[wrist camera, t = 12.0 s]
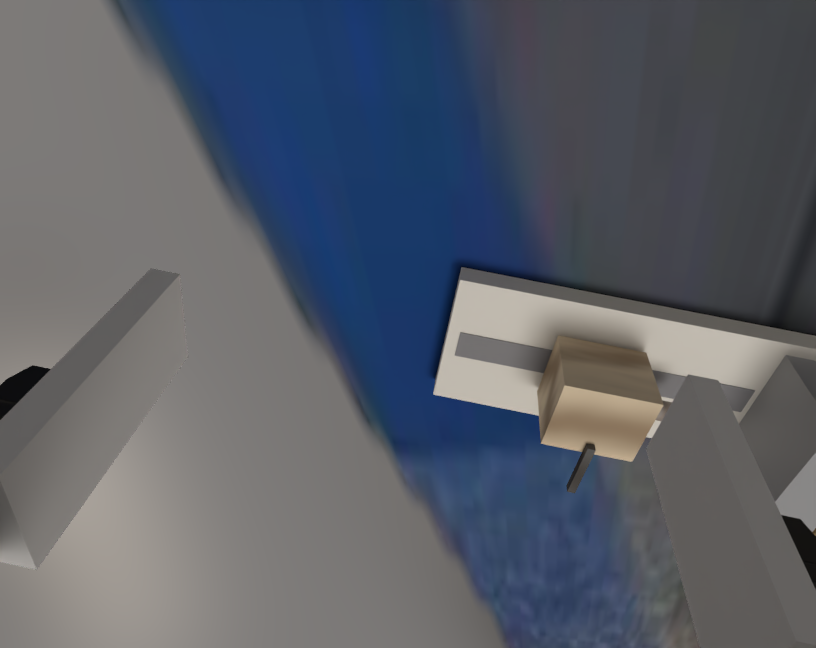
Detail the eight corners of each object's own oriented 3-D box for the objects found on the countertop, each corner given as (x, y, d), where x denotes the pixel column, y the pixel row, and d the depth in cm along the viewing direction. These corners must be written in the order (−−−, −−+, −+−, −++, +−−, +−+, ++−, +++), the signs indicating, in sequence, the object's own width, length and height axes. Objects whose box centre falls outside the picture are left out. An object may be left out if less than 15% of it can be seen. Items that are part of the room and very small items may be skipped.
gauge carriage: (557, 335, 46) (565, 391, 40) (684, 360, 46) (708, 419, 40) (524, 424, 52) (527, 483, 46) (636, 446, 51) (652, 508, 46)
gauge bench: (461, 266, 46) (452, 342, 38) (839, 340, 46) (913, 432, 37) (435, 379, 53) (423, 463, 45) (762, 445, 53) (810, 541, 44)
